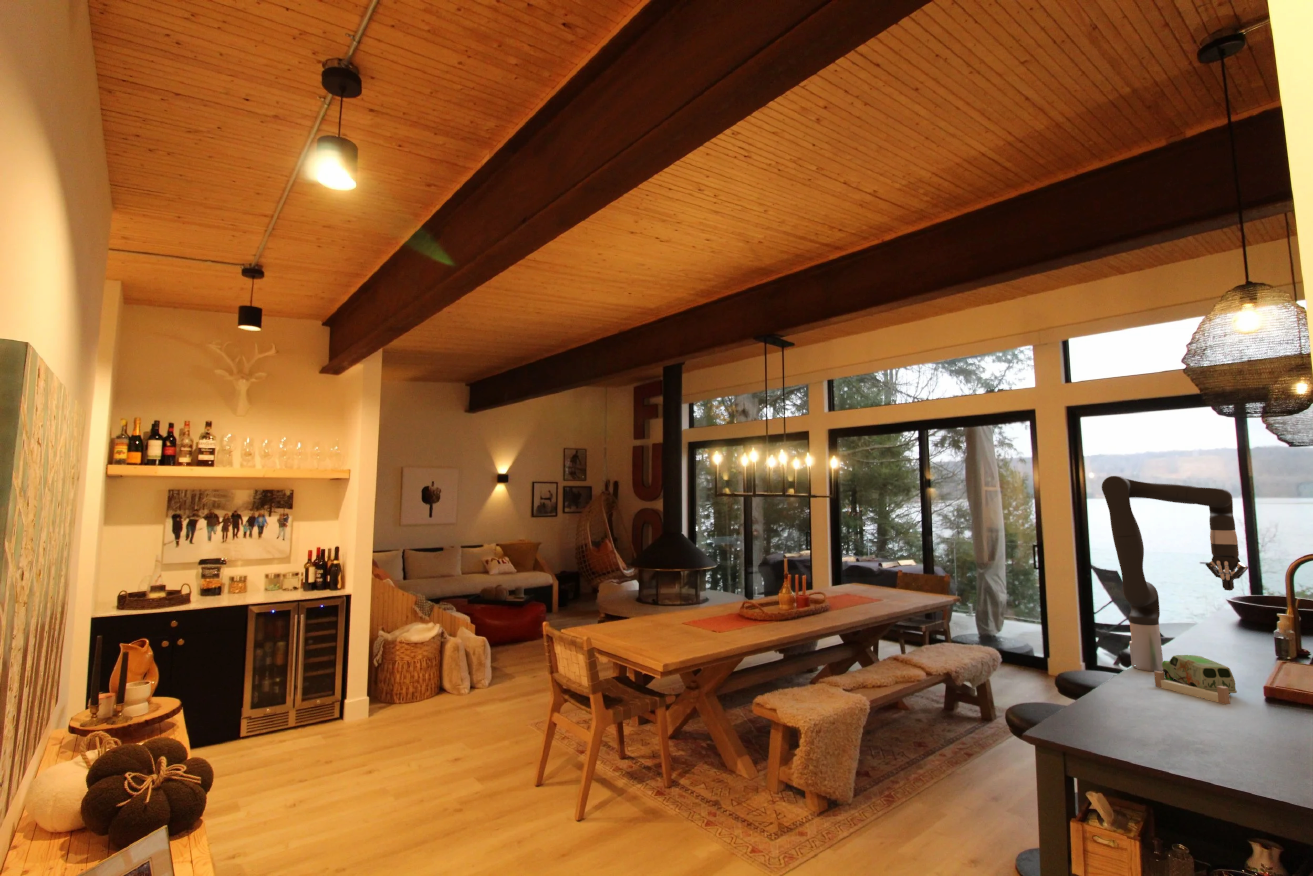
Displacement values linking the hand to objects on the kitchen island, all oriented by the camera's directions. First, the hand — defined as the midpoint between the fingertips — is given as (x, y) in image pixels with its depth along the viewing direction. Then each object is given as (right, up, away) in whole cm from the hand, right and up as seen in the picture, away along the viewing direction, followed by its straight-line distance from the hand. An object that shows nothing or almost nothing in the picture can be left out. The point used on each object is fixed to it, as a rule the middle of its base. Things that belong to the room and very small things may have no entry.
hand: (1228, 590), depth 235 cm
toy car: (-20, -32, -10) cm, 39 cm away
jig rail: (-29, -31, -18) cm, 46 cm away
